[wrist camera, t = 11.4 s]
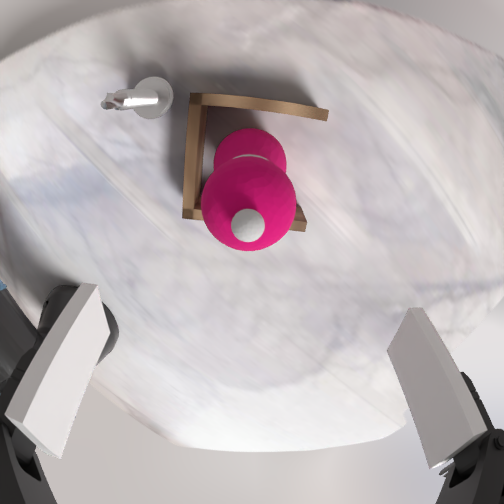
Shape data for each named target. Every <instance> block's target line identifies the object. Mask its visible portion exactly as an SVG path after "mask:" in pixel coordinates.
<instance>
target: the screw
mask: <svg viewBox="0 0 504 504" xmlns="http://www.w3.org/2000/svg"><path fill="white" fill-rule="evenodd" d="M173 99H174V93H173V89H172V87H171V85H170V83H169V82H167V81H166V80H165V79H163V78H160V77H148V78H145V79H143V80H142V81H140V82H139V83H138V84H137V85H136V86H135V88H134V89H122V90H118V91H116V92H115V93H107V96H106V99H105V100H103V101H102V102H101V107H102V108H103V109H113V108H114V109H116V110H127V109H134V111H135V112H136V113H137V114H138V115H139V116H140V117H143V118H146V119H155V118H159V117H161V116H163V115H164V114H165V113H166V112H167V111H168V110H169V109H170V107H171V105H172V103H173Z"/></svg>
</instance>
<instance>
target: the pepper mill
mask: <svg viewBox="0 0 504 504" xmlns="http://www.w3.org/2000/svg"><path fill="white" fill-rule="evenodd" d="M201 211H202V216H203V219H204V222H205V224H206V226H207V228H208V229H209V231H210V232H211V233H212V235H213V236H214V237H215V238H216V239H218V240H219V241H220V242H221V243H223V244H225V245H226V246H228V247H231V248H233V249H236V250H242V251H255V250H261V249H264V248H266V247H268V246H270V245H272V244H274V243H276V242H277V241H278V240H280V239H281V238H282V237H283V236H284V235H285V234H286V233H287V232H288V230H289V228H290V227H291V224H292V222H293V220H294V217H295V212H296V195H295V191H294V187H293V185H292V182H291V181H290V179H289V178H288V176H287V175H286V157H285V153H284V150H283V148H282V146H281V144H280V143H279V142H278V141H277V139H276V138H275V137H274V136H272V135H271V134H269V133H267V132H265V131H263V130H259V129H254V128H246V129H240V130H237V131H235V132H233V133H231V134H229V135H228V136H227V137H225V138H224V139H223V141H222V142H221V143H220V144H219V146H218V148H217V150H216V153H215V157H214V172H213V173H212V174H211V175H210V176H209V178H208V180H207V181H206V183H205V186H204V189H203V192H202V196H201Z"/></svg>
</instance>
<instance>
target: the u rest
mask: <svg viewBox="0 0 504 504" xmlns="http://www.w3.org/2000/svg"><path fill="white" fill-rule="evenodd" d="M208 105H210V106H224V107H235V108H245V109H253V110H261V111H269V112H276V113H283V114H289V115H295V116H301V117H307V118H312V119H317V120H322V121H327V118H328V112H329V110H326V109H322V108H317V107H312V106H306V105H301V104H295V103H289V102H283V101H276V100H269V99H262V98H254V97H245V96H235V95H223V94H208V93H190V100H189V111H188V122H187V135H186V149H185V165H184V185H183V213H182V218H183V219H193V220H203V221H204V219H203V216H202V211H201V195H200V194H201V178H202V165H203V152H204V140H205V129H206V119H207V109H208ZM306 225H307V221H306V218H305V216H304V213H303V211H302V208H301V207H297V206H296V212H295V217H294V220H293V222H292V224H291V227H290V228H289V230H293V231H301V232H305V229H306Z"/></svg>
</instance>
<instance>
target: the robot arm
mask: <svg viewBox="0 0 504 504" xmlns="http://www.w3.org/2000/svg"><path fill="white" fill-rule="evenodd" d="M6 287H7V286H6V284H3V282H2V281H1V280H0V504H57V502H56V500H55V498H54V496H53V494H52V491H51V489H50V487H49V484H48V482H47V480H46V477H45V475H44V472H43V470H42V467H41V465H40V462H39V459H38V456H37V454H36V452H35V449H36V446H37V447H38V448H39V449H40V450H42V451H43V452H44V453H46V454H49V455H51V456H53V457H55V458H58V459H61V457H62V454H63V451H64V448H65V444H66V442H67V439H68V436H69V433H70V430H71V427H72V424H73V422H74V419H75V417H76V413H77V411H78V408H79V405H80V402H81V400H82V398H83V395H84V393H85V390H86V388H87V385H88V383H89V380H90V378H91V375H92V373H93V371H94V368H95V366H96V365H97V364H98V363H99V362H100V361H102V360H103V358H104V357H105V356H106V355H107V354H108V353H110V352H111V351H112V349H113V348H114V346H115V344H116V341H117V339H118V336H119V330H118V325H117V323H116V320H115V318H114V317H113V315H112V313H111V312H110V311H109V309H108V308H107V307H106V306H105V305H104V304H103V303H102V301H101V297H100V293H99V289H98V285H95V284H88V283H82V284H81V285H80V287H79V288H77V287H74V286H59V287H57V288H55V289H54V290H53V291H52V292H51V293H50V294H49V296H48V297H47V298H46V300H45V302H44V306H43V310H42V313H41V317H40V321H39V325H38V328H37V329H36V328H35V327H34V326H33V324H32V323H31V322H30V321H29V319H28V318H27V317H26V315H25V314H24V313H23V311H22V310H21V308H20V307H19V306H18V304H17V303H16V301H15V300H14V299H13V297H12V296H11V294H10V293H9V291H8V290H7V288H6ZM387 352H388V355H389V357H390V360H391V362H392V364H393V367H394V369H395V372H396V374H397V377H398V379H399V382H400V384H401V387H402V390H403V392H404V395H405V398H406V400H407V403H408V406H409V408H410V411H411V414H412V417H413V420H414V422H415V425H416V428H417V431H418V434H419V437H420V440H421V443H422V446H423V449H424V453H425V456H426V459H427V463H428V466H429V469H432V468H435V467H438V466H440V465H443V464H444V463H446V462H448V461H449V460H450V459H452V458H453V459H454V462H453V463H451V464H450V465H448V466H447V467H445V468H444V469H443V470H442V471H441V472H440V473H439V475H442V474H444V473H445V472H447V471H448V470H449V471H448V473H447V474H445V475H444V477H446V479H445V482H444V484H443V487H442V490H441V492H440V495H439V497H438V499H437V502H436V504H504V431H503V430H502V429H495V428H494V426H493V425H492V422H491V420H490V418H489V416H488V414H487V412H486V409H485V407H484V405H483V403H482V401H481V400H480V399H479V395H478V393H477V392H476V389H475V387H474V385H473V383H472V381H471V379H470V378H469V377H468V376H467V375H466V374H465V373H464V372H460V371H459V370H458V368H457V366H456V364H455V362H454V360H453V359H452V357H451V355H450V353H449V351H448V350H447V348H446V346H445V344H444V343H443V341H442V339H441V337H440V336H439V334H438V332H437V331H436V329H435V327H434V326H433V324H432V322H431V321H430V319H429V318H428V316H427V314H426V313H425V311H424V310H423V308H409V309H408V311H407V313H406V316H405V317H404V319H403V321H402V323H401V325H400V327H399V329H398V331H397V333H396V335H395V337H394V338H393V340H392V342H391V344H390V346H389V348H388V349H387Z"/></svg>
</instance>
